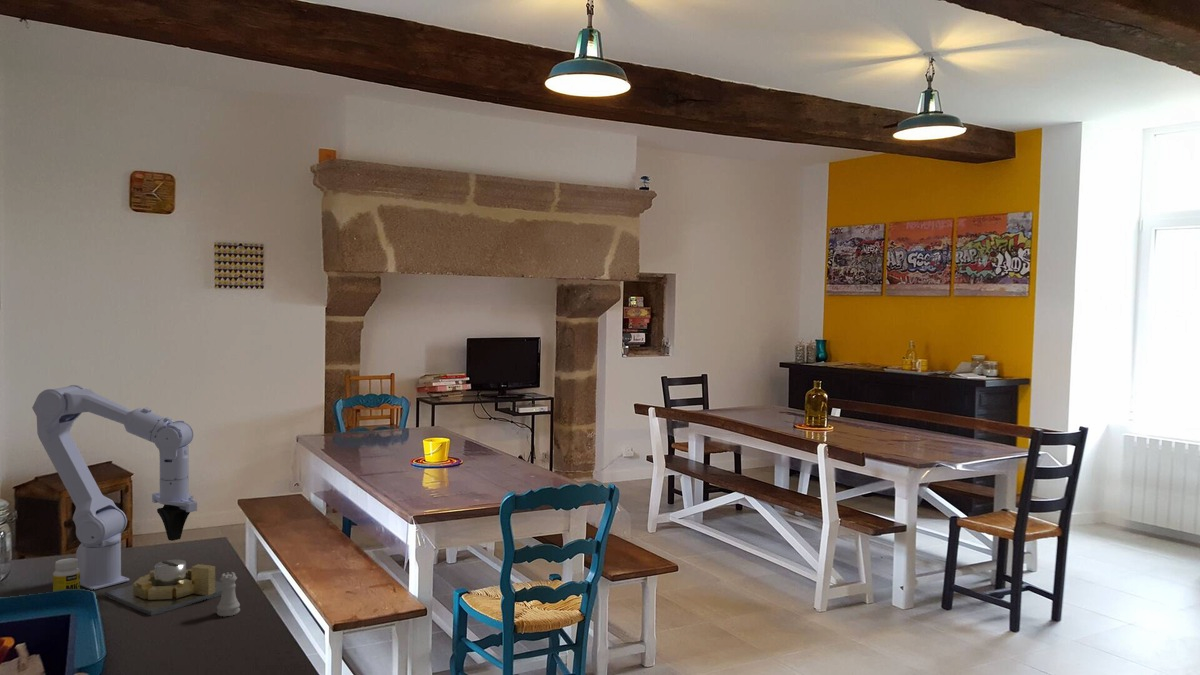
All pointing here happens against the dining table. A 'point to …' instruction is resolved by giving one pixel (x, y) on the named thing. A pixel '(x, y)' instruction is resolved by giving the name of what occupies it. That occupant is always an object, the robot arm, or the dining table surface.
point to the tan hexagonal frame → (178, 584)
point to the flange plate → (158, 603)
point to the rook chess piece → (228, 596)
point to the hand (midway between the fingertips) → (174, 539)
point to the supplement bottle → (66, 574)
